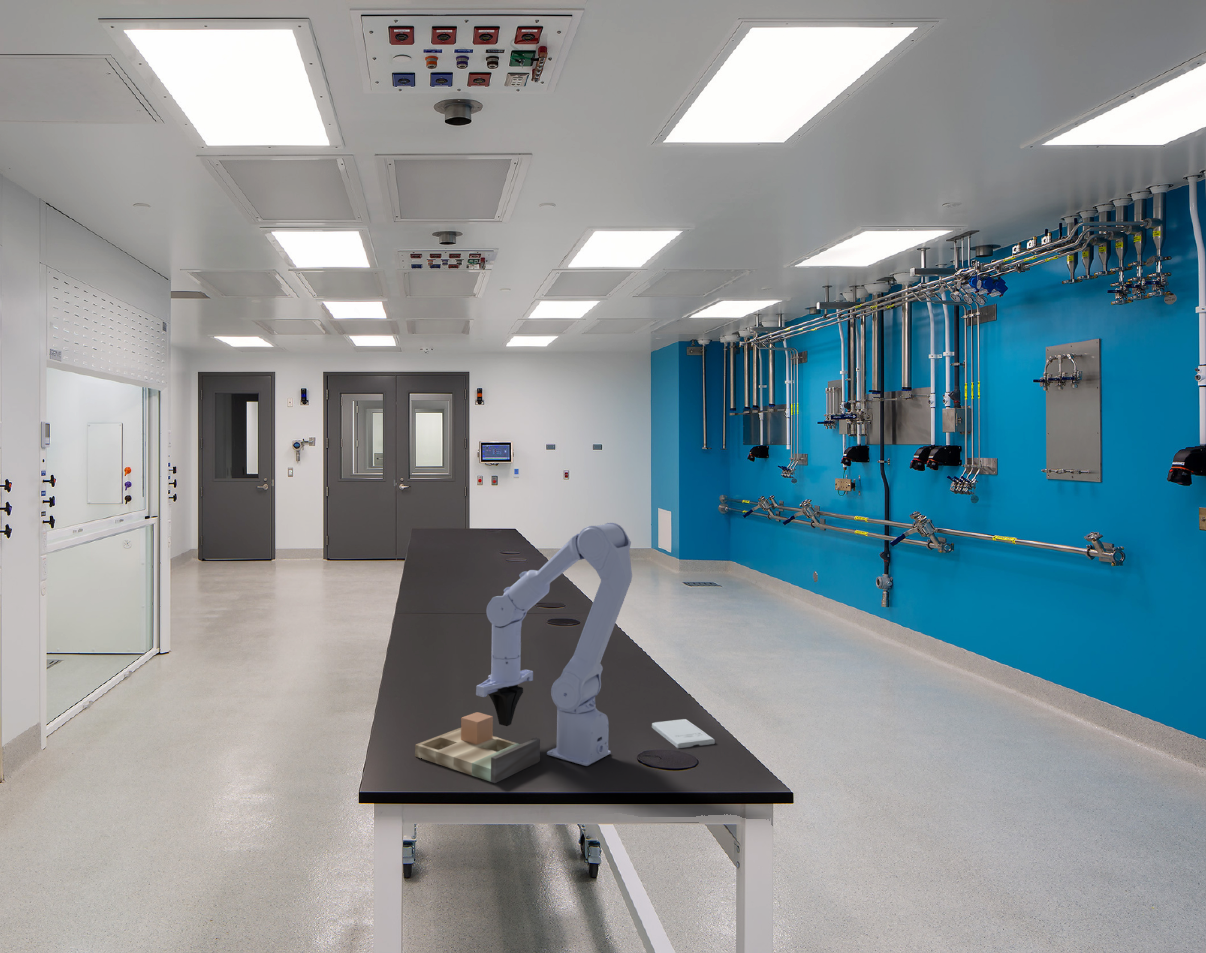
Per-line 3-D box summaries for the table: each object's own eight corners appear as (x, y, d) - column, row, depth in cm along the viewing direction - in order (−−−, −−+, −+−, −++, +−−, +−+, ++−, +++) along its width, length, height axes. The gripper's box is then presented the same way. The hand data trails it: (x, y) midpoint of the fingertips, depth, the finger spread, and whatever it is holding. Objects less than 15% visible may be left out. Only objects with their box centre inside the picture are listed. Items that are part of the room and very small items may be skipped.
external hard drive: (686, 726, 165) (715, 746, 153) (651, 730, 162) (677, 751, 150) (686, 718, 165) (715, 738, 153) (651, 722, 162) (677, 742, 150)
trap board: (539, 761, 142) (540, 739, 142) (495, 783, 132) (495, 759, 132) (461, 738, 154) (461, 717, 154) (415, 756, 144) (415, 734, 144)
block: (492, 738, 148) (492, 716, 148) (476, 744, 144) (477, 722, 144) (476, 733, 150) (477, 712, 150) (461, 739, 147) (461, 717, 147)
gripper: (515, 645, 161) (514, 711, 161) (465, 659, 149) (464, 730, 149) (541, 651, 157) (540, 717, 157) (492, 665, 145) (491, 738, 145)
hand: (505, 724), depth 153 cm, fingers closed
